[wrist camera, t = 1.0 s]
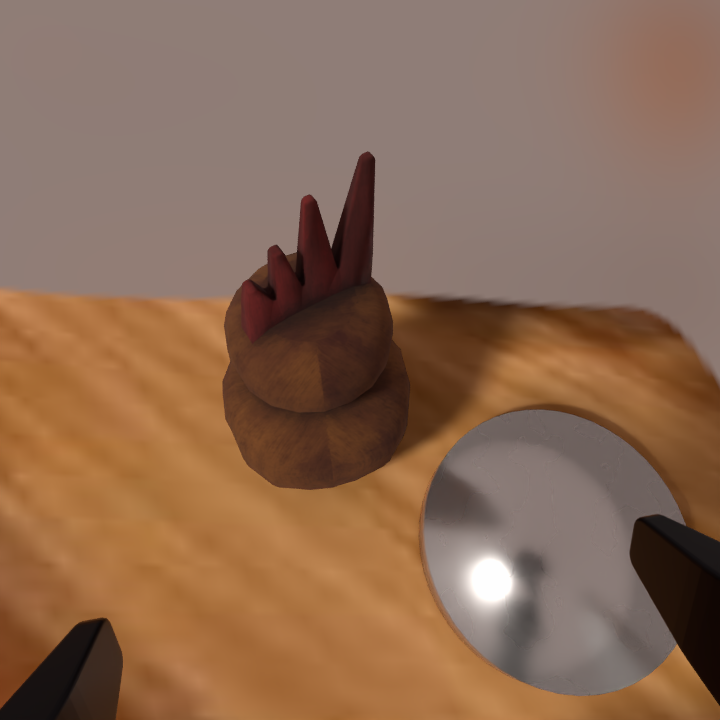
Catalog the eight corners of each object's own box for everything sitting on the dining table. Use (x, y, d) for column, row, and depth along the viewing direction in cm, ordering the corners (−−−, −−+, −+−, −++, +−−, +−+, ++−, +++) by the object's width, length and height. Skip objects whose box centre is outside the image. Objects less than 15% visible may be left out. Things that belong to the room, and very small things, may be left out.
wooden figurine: (381, 374, 26) (413, 84, 13) (411, 487, 23) (493, 269, 10) (242, 399, 25) (125, 118, 12) (257, 520, 22) (123, 328, 9)
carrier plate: (701, 693, 20) (727, 700, 19) (421, 686, 20) (428, 691, 19) (643, 425, 25) (661, 414, 24) (416, 415, 25) (421, 404, 23)
